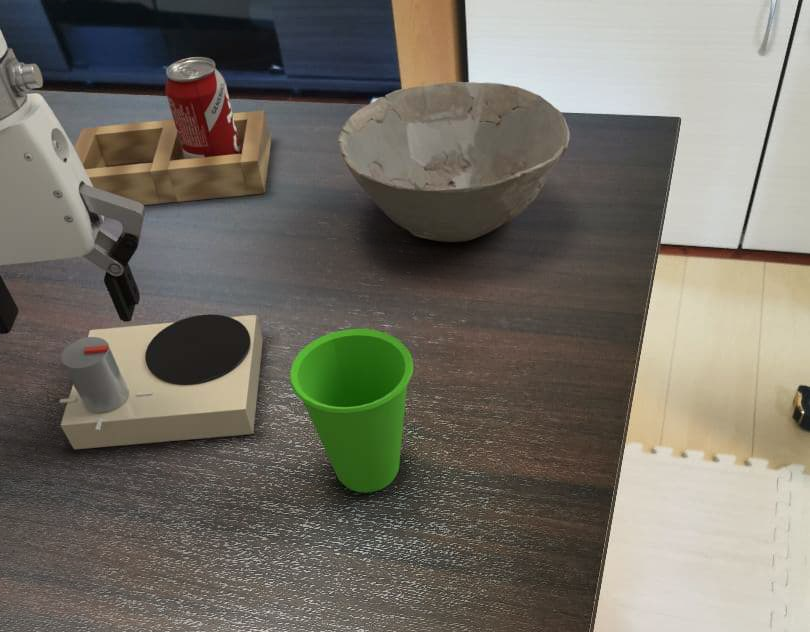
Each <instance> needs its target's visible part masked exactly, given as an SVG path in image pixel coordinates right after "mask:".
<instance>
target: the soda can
mask: <svg viewBox="0 0 810 632" xmlns="http://www.w3.org/2000/svg"><path fill="white" fill-rule="evenodd" d="M165 74H166V77H167V81H166V82H165V83H166V84H165V88H164V92H165V94H166V95H165V96H166V98H167V101H168V105H169V108H170V112H171V115H172V119H174V122H175V126H176V129H177V133H178V136H179V139H180V143H181V146H182V150H183V153H184V157H185V159H193V158H203V157H213V156H223V155H233V154H242V151H241V146H240V142H239V138H238V134H237V130H236V125H235V121H234V117H233V113H234V112H233V109H232V104H231V100H230V95H229V91H228V87H227V83H226V80H225V77H224V76H223V74H222V73H221V72H219V70H218V69H217V66H216V63H215V61H214V60H213V59H211V58H210V57H204V56H193V57H187V58H182V59H180V60H177V61H175V62H173V63H171V64H170V65H169V66H167V68H166V70H165Z"/></svg>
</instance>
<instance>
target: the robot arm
mask: <svg viewBox="0 0 810 632" xmlns="http://www.w3.org/2000/svg"><path fill="white" fill-rule="evenodd" d="M8 46H9V45H8V44H7V41H6V39H5V36H4V34H3V32H2V30H1V29H0V267H4V266H13V265H23V264H34V263H42V262H43V263H44V262H52V261H61V260H70V259H77V258H81V257H84V258H85V259H86V260H88V261H89V262H91V263H93V264H94V265H95V266H97V267H99V268H100V269H101V270H103V271H105V274H104V276H103V283H104V285H105V287H106V290H107V292H108V294H109V296H110V299H111V301H112V303H113V306H114V309H115V311H116V313H117V315H118V317H119V320H120V321H123V323H126V322H127V323H128V322H132V319H133V315H134V311H135V308H136V305H139V304H140V299H141V298H140V297H141V295H140V289H139V287H138V285H137V282H136V280H135V277H134V275H133V272H132V270H131V267H130V265H129V262H130V260H131V259H132V258H133V256H134V255H135V253H136V251H137V249H138V247H139V243H140V240H141V236H142V230H143V226H144V221H145V220H144V219H145V215H146V207H145V205H143V204H142V203H140V202H137V201H134V200H131V199H128V198H125V197H122V196H119V195H115V194H112V193H109V192H106V191H103V190H100V189H97V188H94V187H93V185H92V183H91V181H90V179H89V177H88V175H87V172H86V171H85V169H84V167H83V165H82V163H81V161H80V159H79V157H78V155H77V153H76V151H75V149H74V147H75V146H74V145H73V143H72V142H71V140H70V138H69V136H68V135H67V133H66V131H65V129H64V128H63V126H62V124H61V123H60V121H59V119H58V118H57V116H56V115H55V112H54V111H53V110H52V108H51V107H50V105H49V104H48V102H47V101H46V99H45V98H44V96H42V95H41V94H40V93H29V92H32V91H33V89H39V88H42V87H43V85H44V79H43V75H42V72H41V69H40V67H39V65H37V64H36V63H24V62H22V61H21V62H20V61H19V60H18V59H17V57H16V55H15V53H14V51H13V48H12V47H8ZM105 218H109V219H112V220H114V221H118V222H119V223H120V224H121V226H122V232H121V233H120V235H119V237H117V236H115V235H114V234H112V233H111V232H110V231H108V230H107V229H105V228H103V227H102V226H101V225H102V224H104V223H105ZM18 314H19V307H18V305H17V304H16V302H15V299H14V297H13V296H12V294H11V292H10V290H9V288H8V287H7V285H6V283H5V281H4V279H3V277H2V275H1V274H0V335H8V334H9V333H10V332H11V331H12V329H13V327H14V324H15V321H16V319H17V317H18Z"/></svg>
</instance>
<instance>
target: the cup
mask: <svg viewBox="0 0 810 632" xmlns="http://www.w3.org/2000/svg"><path fill="white" fill-rule="evenodd" d="M413 372H414V362H413V357H412V354H411V353H410V351H409V350H408V348H407V347H406V345H405V344H404V343H402V342H401V340H399V339H397V337H395V336H392V335H391V334H388V333H386V332H383V331H380V330H375V329H368V328H351V329H350V328H349V329H341V330H338V331H334V332H329V333H327V334H325V335H323V336H320V337H318V338H316V339H314V340H313V341H312V342H310V343H309V344H307V345H306V346H304V347H303V349H302V350H301V351H299V352H298V354H297V355H296V357H295V359H294V360H293V362H292V363H291V368H290V372H289V382H290V387H291V389H292V390H293V392H294V394H295V395H296V396H297V397H298V398H299V399H300V400H301V401H302V403H303V405H304V407H305V409H306V411H307V414H308V415H309V419H310V420H311V422H312V425H313V427H314V429H315V431H316V433H317V436H318V438H319V440H320V442H321V444H322V446H323V449H324V450H325V453H326V455H327V458H328V460H329V462H330V464H331V467H332V469H333V471H334V473H335V475H336V477H337V478H338V480H339V482H340V483H341V484H342V485H343V486H345V487H346V488H347V489H349V490H351V491H354V492H356V493H364V494H365V493H366V494H367V493H374V492H377V491H380V490H382V489H385V488H387V486H389V485H390V484H391V483H392V482H393V481H394V479H396V476H397V475H398V472H399V470H400V461H401V450H402V443H403V442H402V441H403V432H404V431H403V429H404V420H405V411H406V410H405V409H406V399H407V389H408V388H407V387H408V384H409V383H410V380H411V378H412V375H413Z"/></svg>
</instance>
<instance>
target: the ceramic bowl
mask: <svg viewBox="0 0 810 632" xmlns="http://www.w3.org/2000/svg"><path fill="white" fill-rule="evenodd" d="M570 134H571V133H570V128H569V125H568V123H567V121H566V119H565V116H564V115H563V113H562V112H561V111H560V110H559V109H558V108H557V107H555V106H554V105H553V104H552V103H551V102H549V101H548V100H546V99H545V98H544V97H542V96H541V95H539V94H537V93H534V92H532V91H530V90H528V89H525V88H522V87H519V86H515V85H509V84H505V83H499V82H475V81H472V82H471V81H470V82H463V81H454V82H453V81H452V82H442V83H435V84H434V83H433V84H425V85H424V86H422V85H421V86H414V87H408V88H401V89H397V90H393V91H392V92H390V93H387V94H385V95H384V96H380V97H378V98H377V99H376V100H374V101H372V102H371V103H369V104H366V105H365V106H362V107H361V108H360V109H358V110H356V111H355V112H354V113H353V114H352V115H351V116H349V117H348V119H346V120H345V122H344V124H343V126H342V128H341V131H340V132H339V133H338V142H337V143H338V149H339V152H340V155H341V156H342V160H343V161H344V162H345V164H346V167H347V168H348V170H349V172H350V173H351V174H352V176H353V177H354V179H355V180H356V182H357V183H358V184H359V186H360V187H361V188H362V189H363V191H364V192H365V194H367V196H368V197H369V198H370V200H372V201H373V202H374V203H375V204H376V205H377V206H378V207H379V208H380V210H382V211H383V214H385V215H386V216H387V217H388V218H389V219H390V220H391V221H393V222H394V223H395V224H396V225H398V226H400V227H401V228H403V229H405V230H407V231H408V232H410V234H412V235H413V236H415V237H418V238H421V239H425V240H426V239H427V240H430V241H436V242H446V243H460V242H469V241H472V240H475V239H477V238H480V237H483V236H485V235H487V234H488V233H491V232H492V231H494V230H496V229H497V228H499V227H501V226H502V225H504V224H505V223H507V222H509V221H511V220H512V219H514V218H516V217H518V216H519V215H520V214H521V213H523V212H524V211H525V210H526V209H527V208H528V207H529V205H531V204H532V202H533V201H534V200H535V199H536V198H537V197H538V195H539V193H540V191H541V190H542V188H543V187H544V186H545V184H546V183H547V182H548V180H549V179H550V177H551V176H552V174H553V172H554V171H555V169H556V167H557V166H558V164H559V162H560V161H561V160H562V158H563V156H564V155H565V153H566V151H567V150H568V146H569V144H570V136H571V135H570Z"/></svg>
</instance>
